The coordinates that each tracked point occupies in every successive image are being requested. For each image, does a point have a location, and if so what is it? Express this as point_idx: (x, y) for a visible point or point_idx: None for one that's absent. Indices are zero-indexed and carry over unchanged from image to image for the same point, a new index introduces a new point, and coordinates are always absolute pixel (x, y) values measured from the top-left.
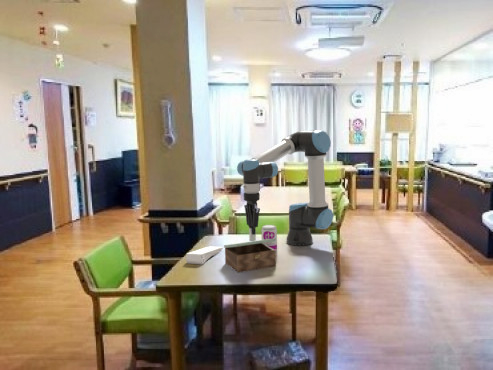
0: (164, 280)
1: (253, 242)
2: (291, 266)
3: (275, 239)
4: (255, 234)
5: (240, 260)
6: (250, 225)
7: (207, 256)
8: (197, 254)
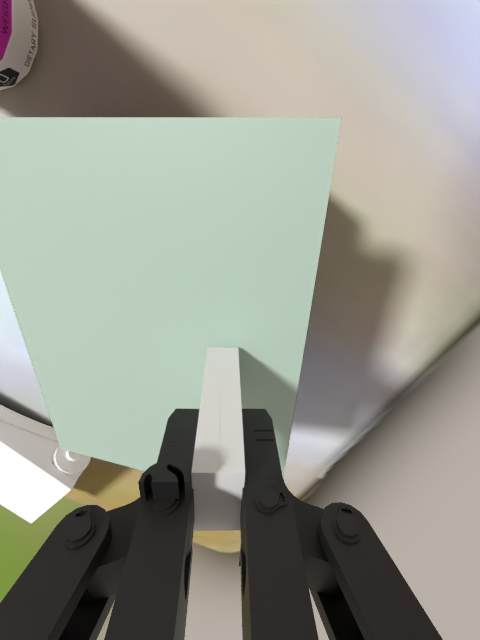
0: (207, 546)
1: (296, 395)
2: (355, 52)
3: (339, 122)
4: (239, 390)
5: None
6: (188, 549)
7: (17, 427)
8: (60, 497)
